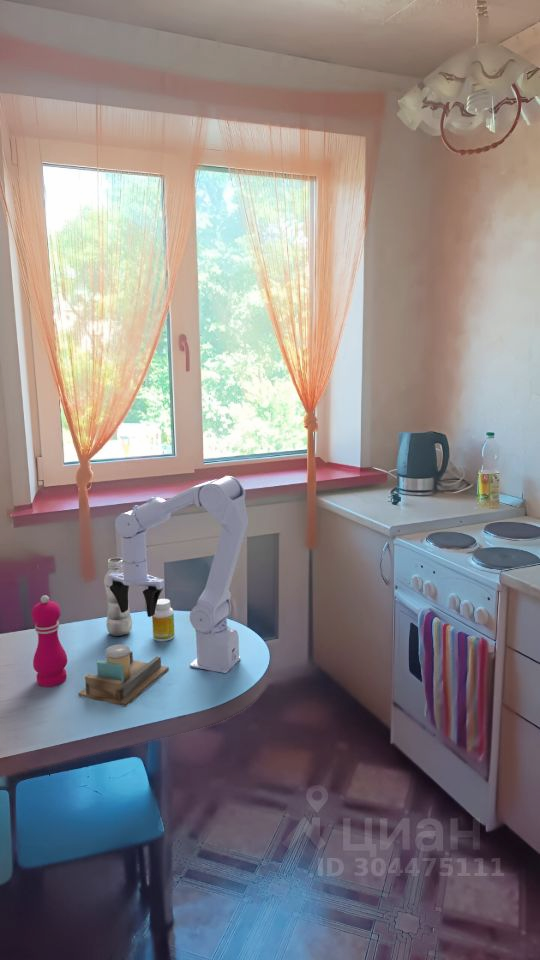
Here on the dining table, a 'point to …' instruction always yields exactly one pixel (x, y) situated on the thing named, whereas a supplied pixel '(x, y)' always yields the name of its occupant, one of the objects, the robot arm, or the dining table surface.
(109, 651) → the jar
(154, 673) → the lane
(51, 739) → the dining table surface
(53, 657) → the pepper mill
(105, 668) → the pusher
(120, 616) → the plastic bottle
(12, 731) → the dining table surface
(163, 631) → the supplement bottle
